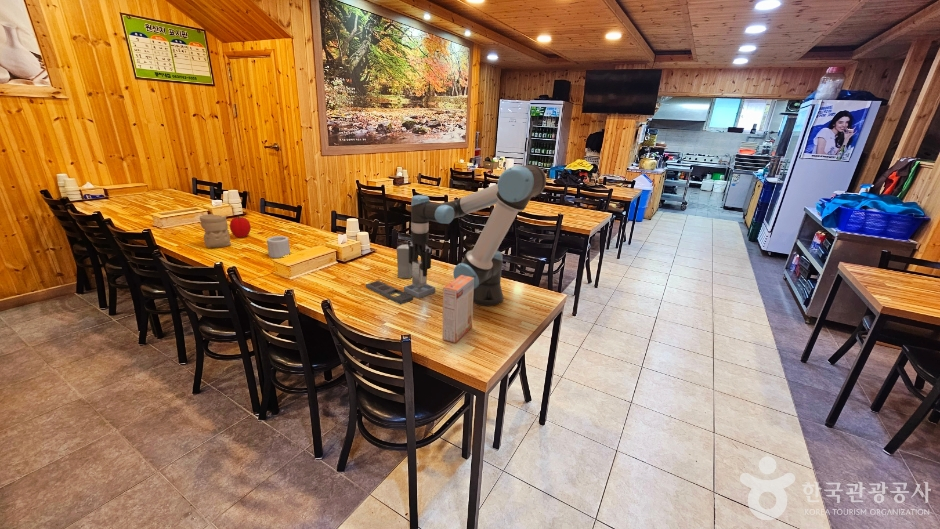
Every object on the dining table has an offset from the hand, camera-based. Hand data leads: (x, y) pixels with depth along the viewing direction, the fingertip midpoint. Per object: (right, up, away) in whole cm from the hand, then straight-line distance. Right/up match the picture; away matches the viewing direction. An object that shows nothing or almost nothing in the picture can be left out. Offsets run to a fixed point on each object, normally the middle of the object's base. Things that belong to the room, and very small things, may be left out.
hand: (419, 280), depth 170 cm
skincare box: (-10, +1, +20) cm, 23 cm away
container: (-125, +18, +48) cm, 135 cm away
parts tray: (0, -6, +2) cm, 6 cm away
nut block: (0, -3, +1) cm, 3 cm away
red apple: (-123, +25, +68) cm, 143 cm away
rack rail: (-14, -6, -1) cm, 15 cm away
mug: (-85, +13, +40) cm, 95 cm away
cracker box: (+18, -19, -31) cm, 41 cm away
